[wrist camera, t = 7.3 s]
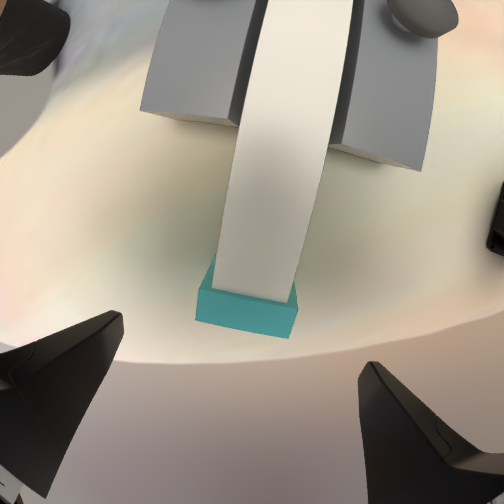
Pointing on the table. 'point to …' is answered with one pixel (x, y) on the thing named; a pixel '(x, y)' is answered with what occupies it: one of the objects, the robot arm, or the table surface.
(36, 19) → the travel mug
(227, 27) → the housing
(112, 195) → the table surface
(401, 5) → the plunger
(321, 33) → the bar
